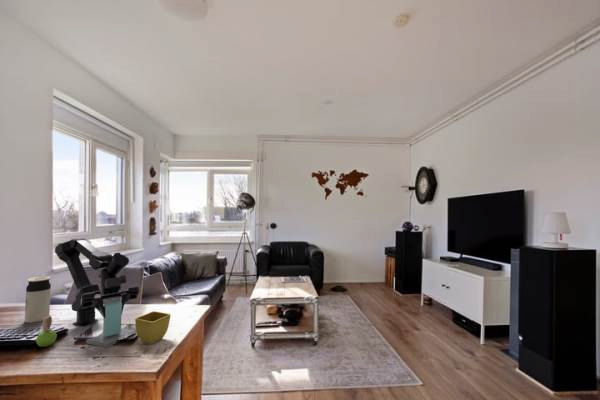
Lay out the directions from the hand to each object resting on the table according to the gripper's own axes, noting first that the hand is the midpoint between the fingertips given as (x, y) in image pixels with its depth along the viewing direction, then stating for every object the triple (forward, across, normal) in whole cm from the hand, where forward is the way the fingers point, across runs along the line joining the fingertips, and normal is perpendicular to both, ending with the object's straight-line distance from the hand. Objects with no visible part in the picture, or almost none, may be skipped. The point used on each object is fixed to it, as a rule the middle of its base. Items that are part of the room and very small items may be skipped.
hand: (113, 316), depth 107 cm
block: (+4, 0, +6) cm, 7 cm away
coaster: (+5, 0, +7) cm, 9 cm away
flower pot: (+14, +11, -1) cm, 18 cm away
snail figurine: (0, -19, +12) cm, 22 cm away
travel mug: (-24, -21, +37) cm, 49 cm away
